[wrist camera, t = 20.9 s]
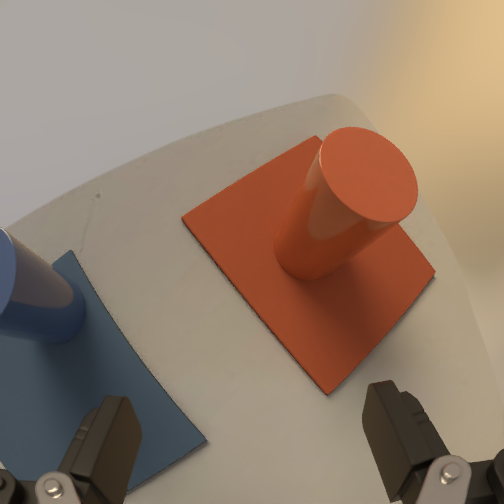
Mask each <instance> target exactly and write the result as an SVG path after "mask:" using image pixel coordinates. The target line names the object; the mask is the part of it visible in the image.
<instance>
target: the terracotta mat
mask: <svg viewBox="0 0 504 504" xmlns="http://www.w3.org/2000/svg"><path fill="white" fill-rule="evenodd" d="M321 144H322V141H321V140H320V139H319V138H318V137H317V136H316V135H315V136H313V137H311V138H309V139H307V140H306V141H304V142H302V143H300V144H299V145H297V146H295V147H293V148H292V149H290V150H288V151H287V152H285V153H283V154H281V155H280V156H278V157H276V158H275V159H273V160H271V161H270V162H268V163H266V164H264V165H263V166H261V167H259V168H258V169H256V170H255V171H253V172H251V173H250V174H248V175H246V176H245V177H243V178H241V179H240V180H238V181H237V182H235V183H233V184H232V185H230V186H229V187H227V188H225V189H224V190H222V191H221V192H219V193H218V194H216V195H214V196H213V197H211V198H210V199H208V200H207V201H205V202H204V203H202V204H200V205H199V206H197V207H196V208H194V209H193V210H191V211H190V212H188V213H187V214H185V215H184V216H182V217H181V219H182V221H183V222H184V223H185V225H186V226H187V227H188V228H189V230H190V231H191V232H192V234H193V235H194V236H195V237H196V239H197V240H198V241H199V243H200V244H201V245H202V246H203V248H204V249H205V250H206V251H207V253H208V254H209V255H210V256H211V258H212V259H213V260H214V261H215V263H216V264H217V265H218V266H219V268H220V269H221V270H222V271H223V273H224V274H225V275H226V276H227V278H228V279H229V280H230V281H231V283H232V284H233V285H234V286H235V288H236V289H237V290H238V291H239V292H240V294H241V295H242V296H243V297H244V299H245V300H246V301H247V302H248V303H249V305H250V306H251V307H252V308H253V310H254V311H255V312H256V313H257V314H258V316H259V317H260V318H261V319H262V320H263V322H264V323H265V324H266V325H267V326H268V328H269V329H270V330H271V331H272V332H273V334H274V335H275V336H276V337H277V338H278V340H279V341H280V342H281V343H282V344H283V345H284V347H285V348H286V349H287V350H288V351H289V353H290V354H291V355H292V356H293V357H294V358H295V360H296V361H297V362H298V363H299V364H300V365H301V367H302V368H303V369H304V370H305V371H306V372H307V374H308V375H309V376H310V377H311V378H312V379H313V380H314V382H315V383H316V384H317V385H318V386H319V387H320V389H321V390H322V391H323V392H324V393H325V394H326V395H328V394H329V393H331V392H332V391H333V390H334V389H335V388H336V387H337V386H338V385H339V384H340V383H341V382H342V381H343V380H344V379H345V378H346V377H347V376H348V375H349V374H350V373H351V372H352V371H353V370H354V369H355V368H356V367H357V366H358V364H359V363H360V362H361V361H362V360H363V359H364V358H365V357H366V356H367V355H368V354H369V353H370V352H371V351H372V349H373V348H374V347H375V346H376V345H377V344H378V343H379V342H380V341H381V339H382V338H383V337H384V336H385V335H386V334H387V333H388V331H389V330H390V329H391V328H392V327H393V326H394V324H395V323H396V322H397V321H398V320H399V319H400V317H401V316H402V315H403V314H404V312H405V311H406V310H407V309H408V308H409V306H410V305H411V304H412V303H413V301H414V300H415V299H416V297H417V296H418V295H419V294H420V292H421V291H422V290H423V288H424V287H425V286H426V284H427V283H428V282H429V280H430V279H431V278H432V276H433V275H434V274H435V272H436V271H435V270H434V269H433V267H432V266H431V265H430V263H429V262H428V261H427V259H426V258H425V257H424V255H423V254H422V253H421V251H420V250H419V249H418V248H417V246H416V245H415V244H414V243H413V241H412V240H411V239H410V238H409V236H408V235H407V234H406V233H405V231H404V230H403V229H402V228H401V226H400V225H399V224H397V225H396V226H394V227H393V228H392V229H390V230H389V231H388V232H387V233H385V234H384V235H383V236H381V237H380V238H379V239H377V240H376V241H375V242H373V243H372V244H371V245H369V246H368V247H367V248H365V249H364V250H363V251H361V252H360V253H359V254H357V255H356V256H355V257H353V258H352V259H351V260H349V261H348V262H347V263H345V264H344V265H342V266H341V267H340V268H338V269H337V270H336V271H334V272H333V273H331V274H330V275H329V276H327V277H325V278H323V279H320V280H315V281H307V280H302V279H299V278H296V277H294V276H292V275H291V274H289V273H288V272H287V271H286V270H285V269H284V268H283V267H282V266H281V265H280V263H279V262H278V260H277V258H276V256H275V253H274V249H273V237H274V233H275V230H276V228H277V226H278V225H279V223H280V221H281V219H282V217H283V215H284V213H285V212H286V210H287V208H288V206H289V204H290V202H291V200H292V198H293V197H294V195H295V193H296V191H297V189H298V187H299V185H300V184H301V182H302V180H303V178H304V176H305V174H306V172H307V170H308V169H309V167H310V165H311V163H312V161H313V159H314V157H315V155H316V154H317V152H318V150H319V148H320V146H321Z"/></svg>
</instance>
